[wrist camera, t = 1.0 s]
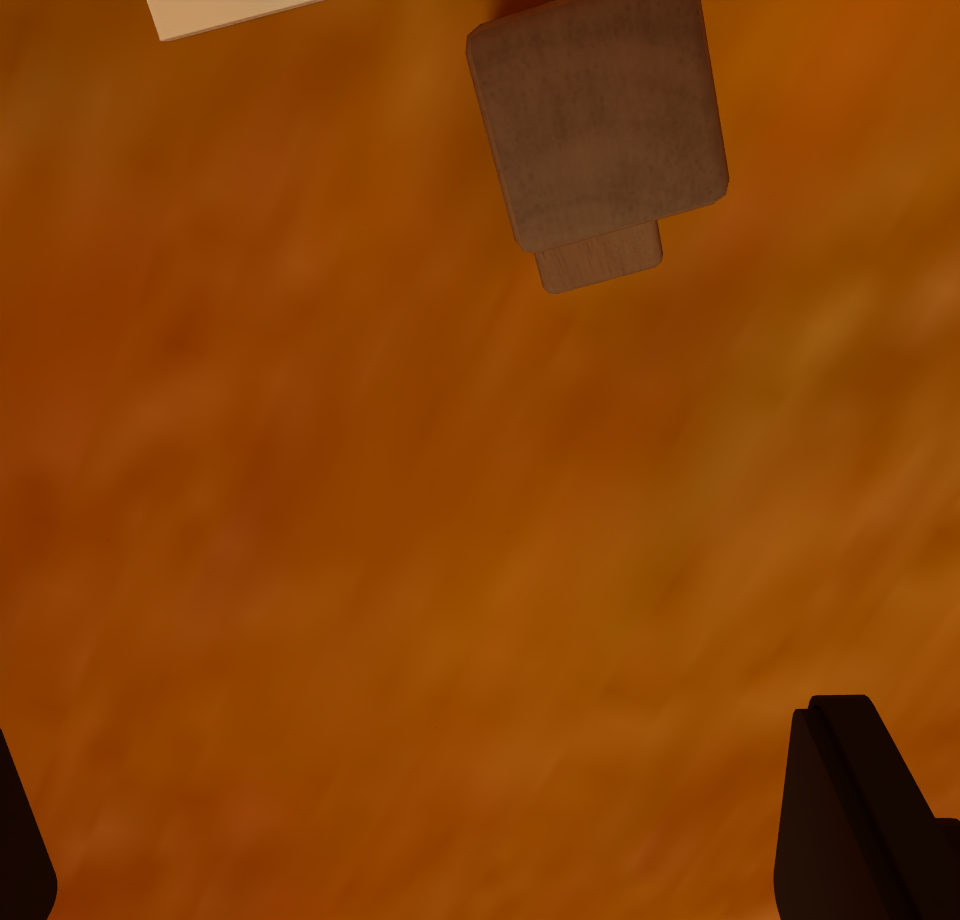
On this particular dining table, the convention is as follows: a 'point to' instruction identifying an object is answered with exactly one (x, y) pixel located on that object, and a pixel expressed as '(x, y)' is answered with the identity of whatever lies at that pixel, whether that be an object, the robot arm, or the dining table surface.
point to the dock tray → (211, 14)
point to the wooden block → (599, 129)
